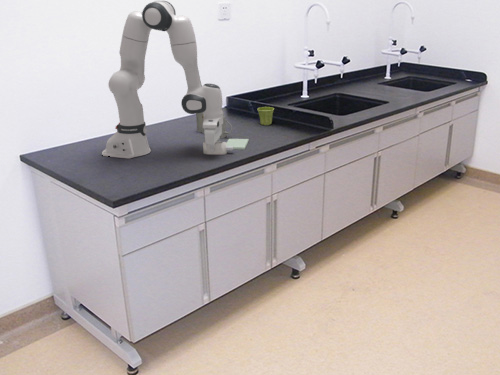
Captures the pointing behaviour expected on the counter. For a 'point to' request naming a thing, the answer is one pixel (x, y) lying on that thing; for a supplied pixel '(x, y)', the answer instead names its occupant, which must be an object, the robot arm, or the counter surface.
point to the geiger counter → (200, 128)
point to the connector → (217, 148)
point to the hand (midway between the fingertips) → (214, 149)
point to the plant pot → (265, 115)
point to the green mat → (238, 143)
